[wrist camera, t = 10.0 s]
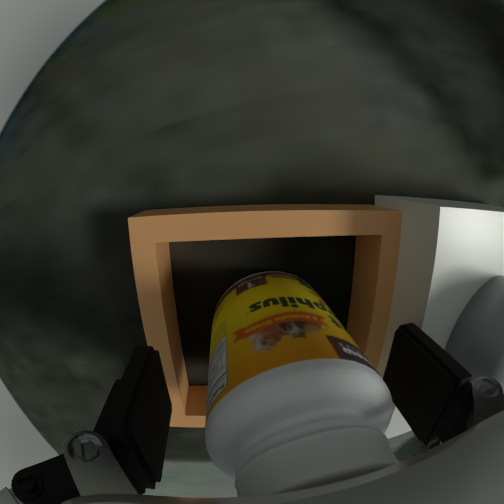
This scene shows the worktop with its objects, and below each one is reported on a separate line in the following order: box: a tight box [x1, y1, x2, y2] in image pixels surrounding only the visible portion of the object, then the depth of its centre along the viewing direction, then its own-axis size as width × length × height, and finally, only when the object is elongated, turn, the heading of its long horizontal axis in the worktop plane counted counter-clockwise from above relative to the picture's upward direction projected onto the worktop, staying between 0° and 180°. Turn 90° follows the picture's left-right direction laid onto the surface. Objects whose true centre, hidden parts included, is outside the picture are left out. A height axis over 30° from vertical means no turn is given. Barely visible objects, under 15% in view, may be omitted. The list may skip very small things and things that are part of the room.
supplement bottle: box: [205, 271, 399, 497], centre depth 9 cm, size 6×6×10 cm
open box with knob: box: [128, 195, 504, 439], centre depth 11 cm, size 12×21×8 cm, turn 91°
